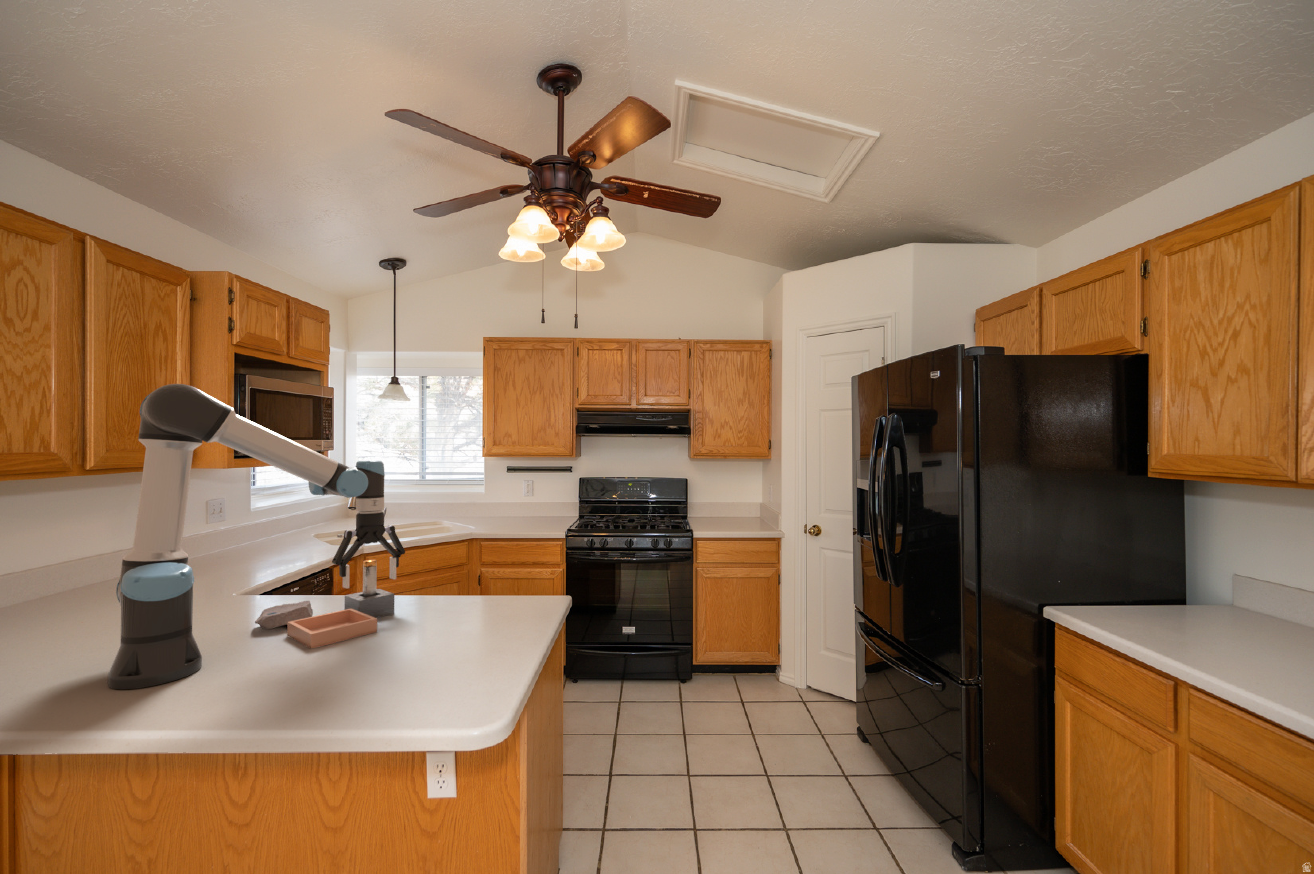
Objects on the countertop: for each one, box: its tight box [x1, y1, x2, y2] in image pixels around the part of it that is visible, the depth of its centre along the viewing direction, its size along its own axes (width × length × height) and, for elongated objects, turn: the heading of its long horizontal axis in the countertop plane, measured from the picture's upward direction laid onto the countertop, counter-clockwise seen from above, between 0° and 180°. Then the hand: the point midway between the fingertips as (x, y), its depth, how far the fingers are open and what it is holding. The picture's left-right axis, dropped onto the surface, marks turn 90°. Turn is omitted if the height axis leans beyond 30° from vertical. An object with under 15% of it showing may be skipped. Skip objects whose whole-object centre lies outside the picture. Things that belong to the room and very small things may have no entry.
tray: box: [286, 608, 378, 649], centre depth 146 cm, size 16×16×4 cm
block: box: [343, 588, 395, 619], centre depth 164 cm, size 10×10×6 cm
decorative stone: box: [254, 600, 314, 630], centre depth 153 cm, size 13×10×6 cm
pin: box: [362, 559, 378, 597], centre depth 164 cm, size 4×4×16 cm
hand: (370, 583), depth 164 cm, fingers open, 13 cm apart
